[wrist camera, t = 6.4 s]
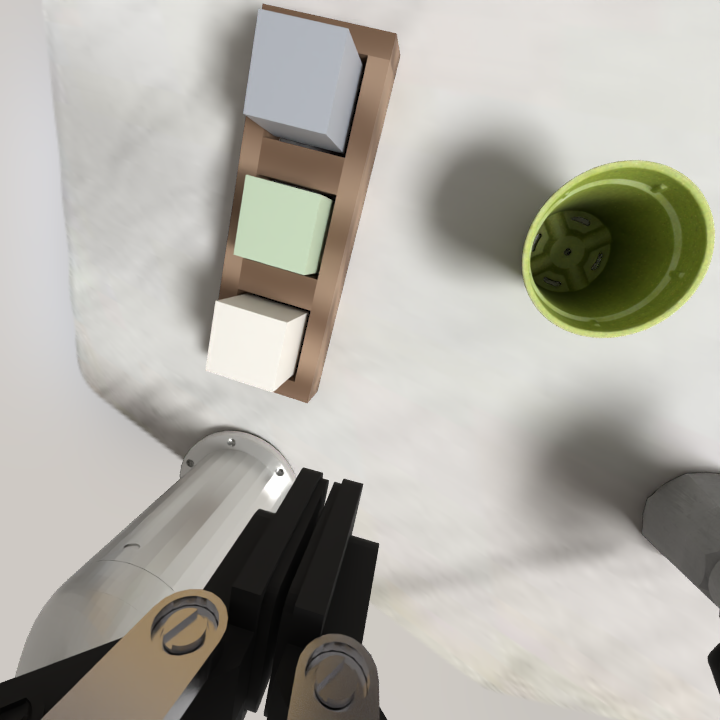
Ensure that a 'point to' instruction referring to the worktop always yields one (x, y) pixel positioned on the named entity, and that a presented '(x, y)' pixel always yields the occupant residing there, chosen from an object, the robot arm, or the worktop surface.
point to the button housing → (323, 176)
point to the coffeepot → (690, 535)
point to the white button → (255, 341)
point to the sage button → (283, 226)
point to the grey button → (303, 80)
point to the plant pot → (619, 249)
